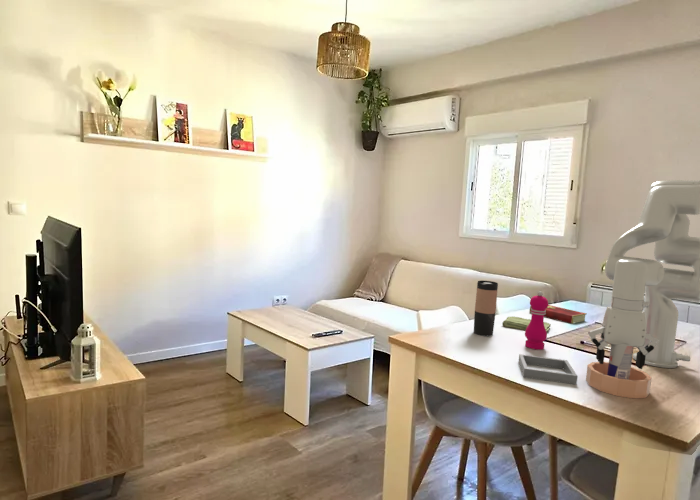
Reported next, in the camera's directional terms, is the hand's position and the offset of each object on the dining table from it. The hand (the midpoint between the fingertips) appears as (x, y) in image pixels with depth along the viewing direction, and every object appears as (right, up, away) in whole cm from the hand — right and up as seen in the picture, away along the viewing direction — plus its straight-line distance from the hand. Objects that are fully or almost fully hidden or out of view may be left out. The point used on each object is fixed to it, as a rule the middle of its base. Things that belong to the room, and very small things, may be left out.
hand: (619, 364), depth 129 cm
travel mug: (-24, 0, +49) cm, 54 cm away
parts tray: (-17, -4, +9) cm, 19 cm away
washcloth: (-2, -1, +63) cm, 63 cm away
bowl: (0, -6, +1) cm, 6 cm away
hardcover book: (+21, 0, +86) cm, 89 cm away
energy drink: (0, -5, +1) cm, 6 cm away
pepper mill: (-10, -3, +35) cm, 36 cm away
